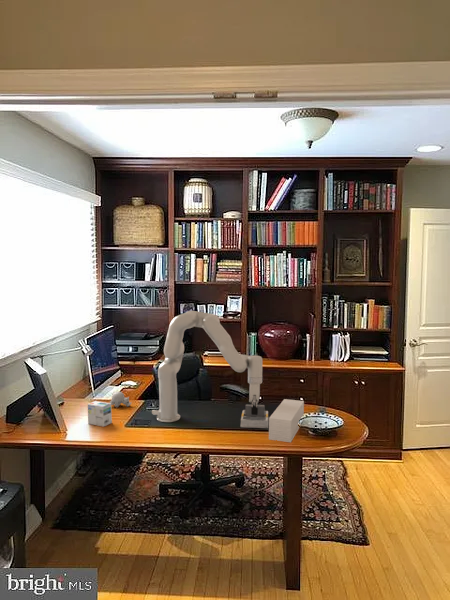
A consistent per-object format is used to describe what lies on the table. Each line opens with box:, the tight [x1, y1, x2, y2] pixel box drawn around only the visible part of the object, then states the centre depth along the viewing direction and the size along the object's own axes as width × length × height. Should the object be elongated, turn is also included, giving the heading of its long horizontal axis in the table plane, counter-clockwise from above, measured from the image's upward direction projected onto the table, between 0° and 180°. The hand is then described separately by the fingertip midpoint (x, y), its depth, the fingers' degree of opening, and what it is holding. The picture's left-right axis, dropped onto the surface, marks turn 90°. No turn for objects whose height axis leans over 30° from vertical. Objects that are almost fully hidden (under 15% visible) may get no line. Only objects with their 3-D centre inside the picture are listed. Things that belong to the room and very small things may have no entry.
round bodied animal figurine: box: [109, 391, 132, 408], centre depth 274 cm, size 7×12×8 cm, turn 84°
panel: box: [245, 403, 266, 417], centre depth 247 cm, size 10×2×8 cm, turn 84°
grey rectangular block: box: [268, 398, 305, 443], centre depth 237 cm, size 32×11×11 cm, turn 160°
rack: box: [240, 409, 269, 429], centre depth 247 cm, size 14×16×4 cm
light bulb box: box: [87, 400, 113, 428], centre depth 245 cm, size 11×7×11 cm, turn 65°
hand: (254, 411), depth 247 cm, fingers open, 9 cm apart
